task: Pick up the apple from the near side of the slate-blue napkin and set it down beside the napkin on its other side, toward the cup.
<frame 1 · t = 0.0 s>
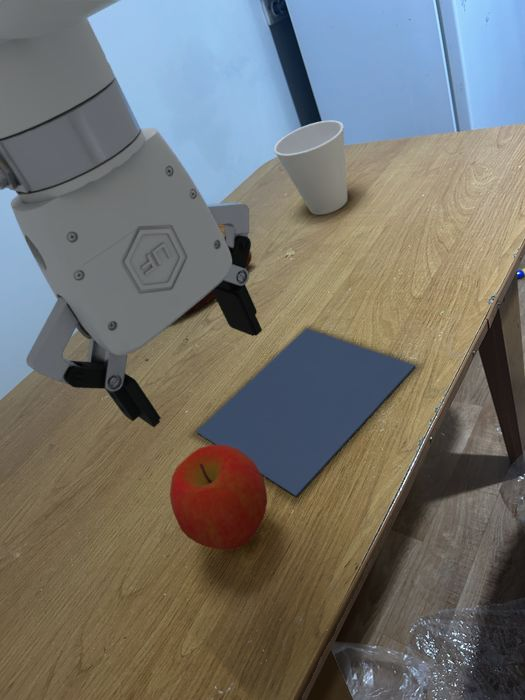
hand: (198, 371, 41), 21 cm above the table, tool pointing down, fingers open, 9 cm apart
bread: (183, 288, 97), on the table
napkin: (302, 401, 66), on the table
apple: (244, 537, 55), on the table
cup: (328, 205, 102), on the table
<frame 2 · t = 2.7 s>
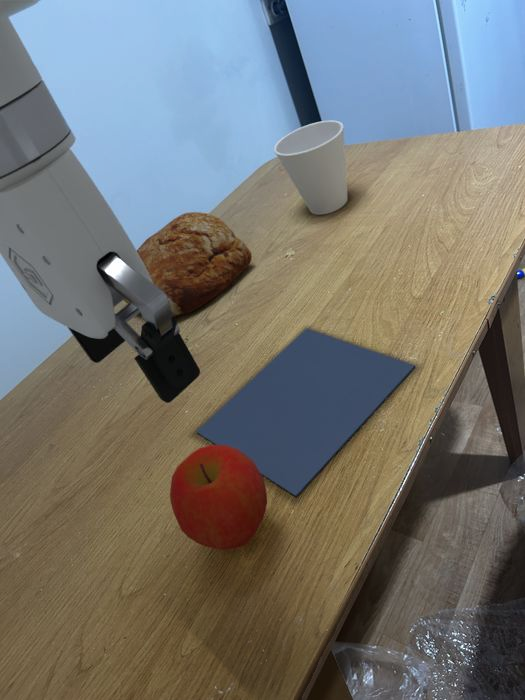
hand: (143, 367, 42), 22 cm above the table, tool pointing down, fingers open, 9 cm apart
nothing on the table moved.
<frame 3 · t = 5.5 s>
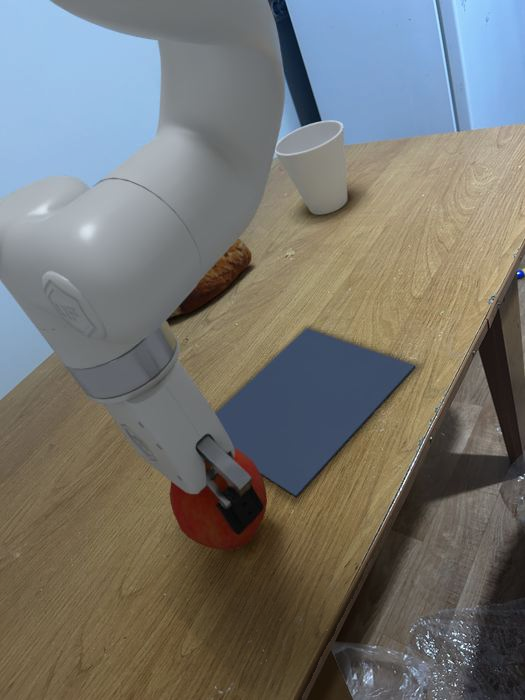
hand: (217, 495, 51), 7 cm above the table, tool pointing down, fingers closed on apple, 8 cm apart
apple: (244, 537, 55), on the table, touching gripper
everything else where it was.
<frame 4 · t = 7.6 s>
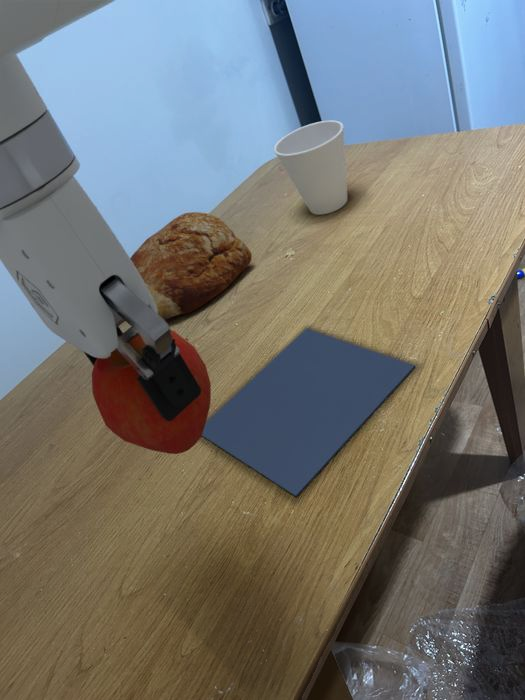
hand: (150, 386, 43), 20 cm above the table, tool pointing down, fingers closed on apple, 8 cm apart
apple: (190, 445, 47), point 14 cm above the table, touching gripper
everything else where it was.
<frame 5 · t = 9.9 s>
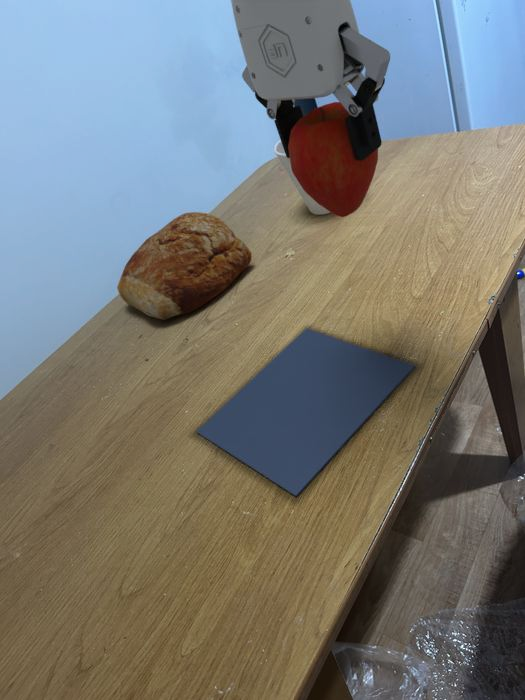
hand: (332, 151, 55), 24 cm above the table, tool pointing down, fingers closed on apple, 8 cm apart
apple: (350, 213, 59), point 17 cm above the table, touching gripper
everything else where it was.
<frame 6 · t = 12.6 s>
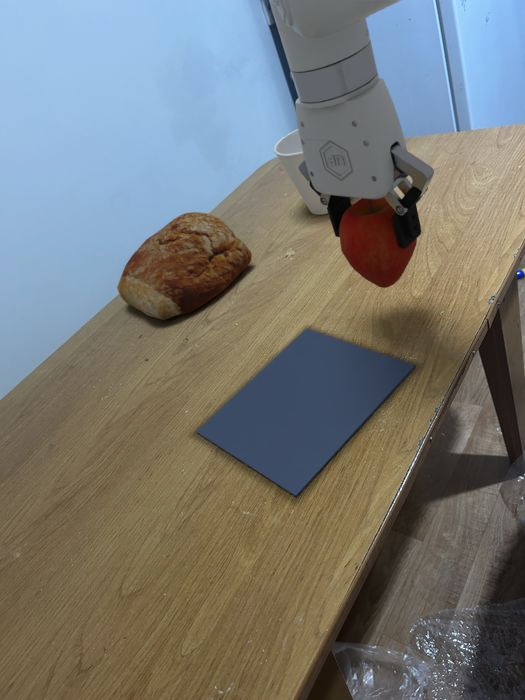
hand: (377, 235, 64), 12 cm above the table, tool pointing down, fingers closed on apple, 8 cm apart
apple: (390, 284, 68), point 6 cm above the table, touching gripper
everything else where it was.
when the fingers open (7 cm above the table, at t = 14.7 s): apple stays where it is, on the table.
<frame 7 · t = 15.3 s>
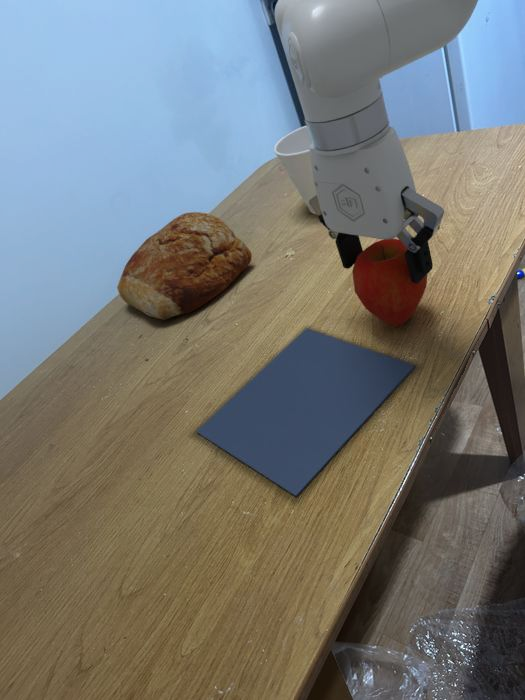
hand: (386, 268, 66), 8 cm above the table, tool pointing down, fingers open, 9 cm apart
apple: (400, 322, 71), on the table
everything else where it was.
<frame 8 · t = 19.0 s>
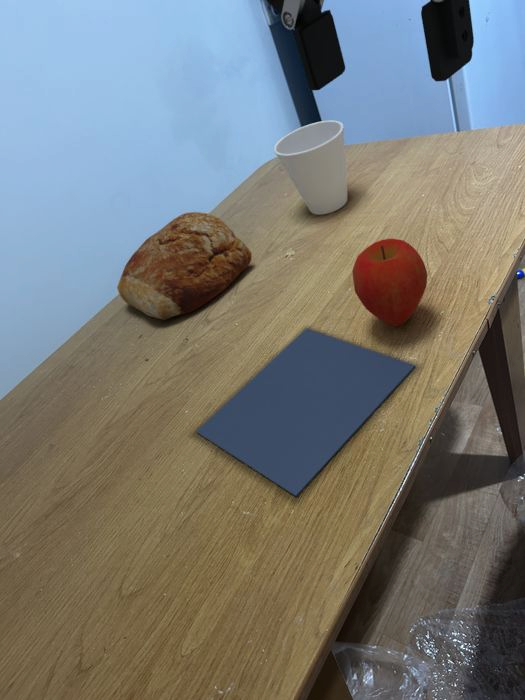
hand: (385, 76, 36), 33 cm above the table, tool pointing down, fingers open, 9 cm apart
nothing on the table moved.
at the end: apple inside the target area on the table beside the napkin (1.3 cm from its centre), on the table; apple 38.1 cm from the cup (horizontally); the gripper is holding nothing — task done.
